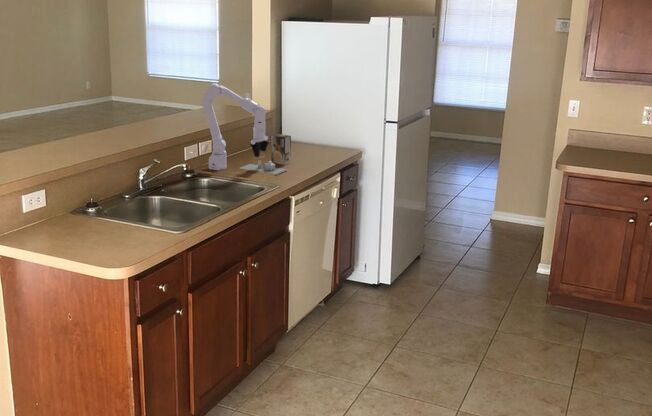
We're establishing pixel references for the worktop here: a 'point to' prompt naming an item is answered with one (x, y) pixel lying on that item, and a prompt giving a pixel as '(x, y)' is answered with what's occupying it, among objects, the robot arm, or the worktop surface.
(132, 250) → the worktop surface
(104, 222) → the worktop surface
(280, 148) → the coffee box
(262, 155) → the loose gear
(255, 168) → the gear board
